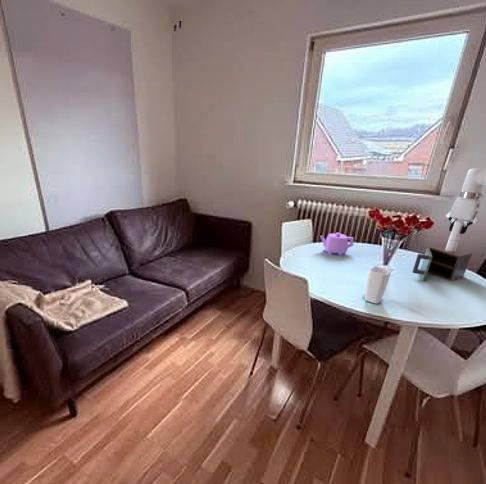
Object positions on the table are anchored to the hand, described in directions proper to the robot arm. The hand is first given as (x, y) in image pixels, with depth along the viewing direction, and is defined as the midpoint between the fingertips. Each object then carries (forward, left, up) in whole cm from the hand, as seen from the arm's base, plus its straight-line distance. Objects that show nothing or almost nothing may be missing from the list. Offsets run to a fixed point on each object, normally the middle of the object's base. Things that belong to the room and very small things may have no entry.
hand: (456, 231), depth 156 cm
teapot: (+50, +26, -24) cm, 61 cm away
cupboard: (0, 0, -24) cm, 24 cm away
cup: (-3, +59, -24) cm, 64 cm away
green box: (+5, +14, -24) cm, 28 cm away
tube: (0, 0, -10) cm, 10 cm away
